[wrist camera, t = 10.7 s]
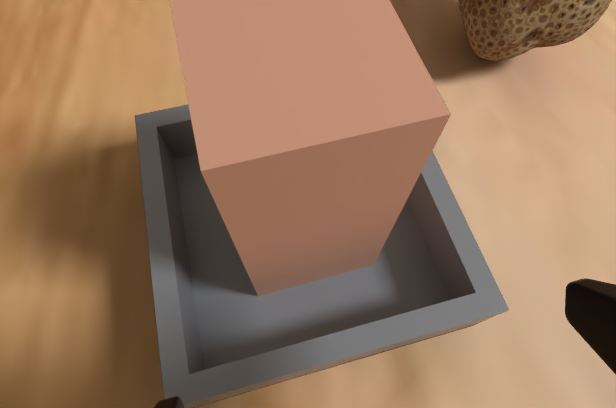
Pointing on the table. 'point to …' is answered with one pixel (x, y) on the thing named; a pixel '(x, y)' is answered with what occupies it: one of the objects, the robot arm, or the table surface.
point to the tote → (299, 299)
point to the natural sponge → (525, 24)
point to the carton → (306, 128)
